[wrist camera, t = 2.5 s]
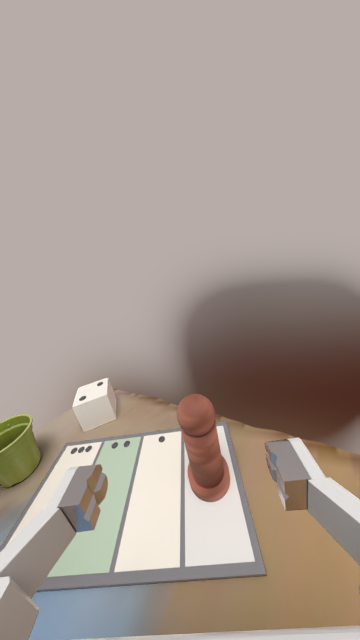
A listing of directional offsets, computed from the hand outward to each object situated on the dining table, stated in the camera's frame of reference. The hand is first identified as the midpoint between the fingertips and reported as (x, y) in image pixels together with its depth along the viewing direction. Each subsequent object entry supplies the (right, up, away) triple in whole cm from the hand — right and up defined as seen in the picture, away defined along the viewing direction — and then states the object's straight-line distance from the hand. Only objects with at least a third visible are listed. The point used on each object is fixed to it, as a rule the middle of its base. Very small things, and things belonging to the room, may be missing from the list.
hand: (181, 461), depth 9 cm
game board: (-7, -19, +19) cm, 28 cm away
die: (-19, -16, +35) cm, 43 cm away
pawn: (+4, -16, +18) cm, 25 cm away
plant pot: (-30, -22, +26) cm, 45 cm away
